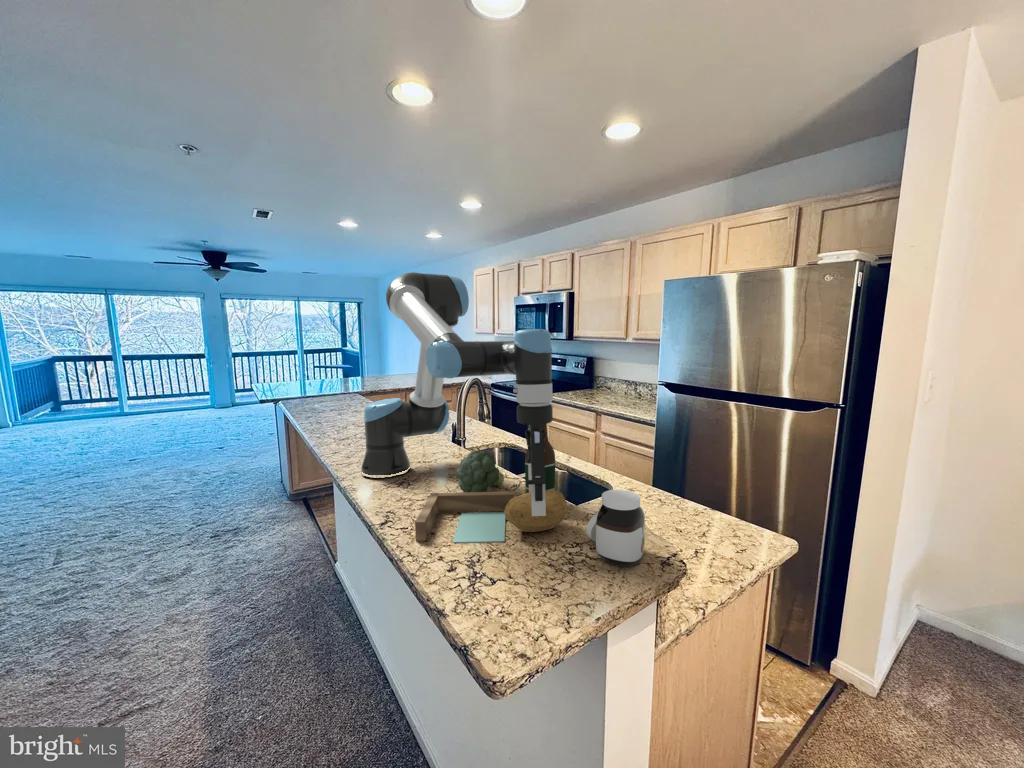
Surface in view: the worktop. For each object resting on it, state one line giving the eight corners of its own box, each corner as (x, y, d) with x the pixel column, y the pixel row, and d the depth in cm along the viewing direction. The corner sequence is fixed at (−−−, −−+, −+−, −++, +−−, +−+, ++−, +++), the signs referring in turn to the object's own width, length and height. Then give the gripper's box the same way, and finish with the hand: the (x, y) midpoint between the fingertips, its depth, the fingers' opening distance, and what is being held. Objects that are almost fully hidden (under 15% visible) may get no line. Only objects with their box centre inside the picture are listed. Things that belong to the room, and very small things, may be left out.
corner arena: (431, 508, 99) (431, 493, 98) (514, 507, 99) (514, 491, 98) (415, 540, 82) (414, 521, 82) (515, 538, 82) (515, 519, 82)
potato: (498, 526, 88) (497, 491, 87) (555, 515, 93) (554, 482, 92) (514, 546, 79) (513, 507, 78) (576, 533, 84) (576, 496, 83)
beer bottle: (519, 506, 99) (517, 410, 97) (535, 496, 105) (534, 406, 103) (546, 513, 95) (545, 412, 93) (561, 502, 101) (561, 408, 99)
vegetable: (522, 483, 109) (486, 471, 99) (491, 512, 112) (452, 503, 102) (506, 450, 117) (471, 436, 107) (477, 477, 121) (440, 466, 110)
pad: (461, 513, 95) (461, 512, 95) (505, 512, 95) (505, 511, 95) (452, 542, 81) (452, 542, 81) (504, 541, 81) (504, 540, 81)
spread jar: (632, 576, 68) (632, 509, 67) (571, 557, 74) (571, 496, 73) (652, 546, 78) (653, 488, 77) (597, 532, 84) (597, 478, 83)
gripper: (515, 397, 96) (518, 483, 98) (517, 413, 71) (520, 528, 73) (547, 396, 96) (548, 483, 98) (559, 411, 71) (561, 527, 73)
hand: (536, 502), depth 85 cm, fingers open, 13 cm apart
